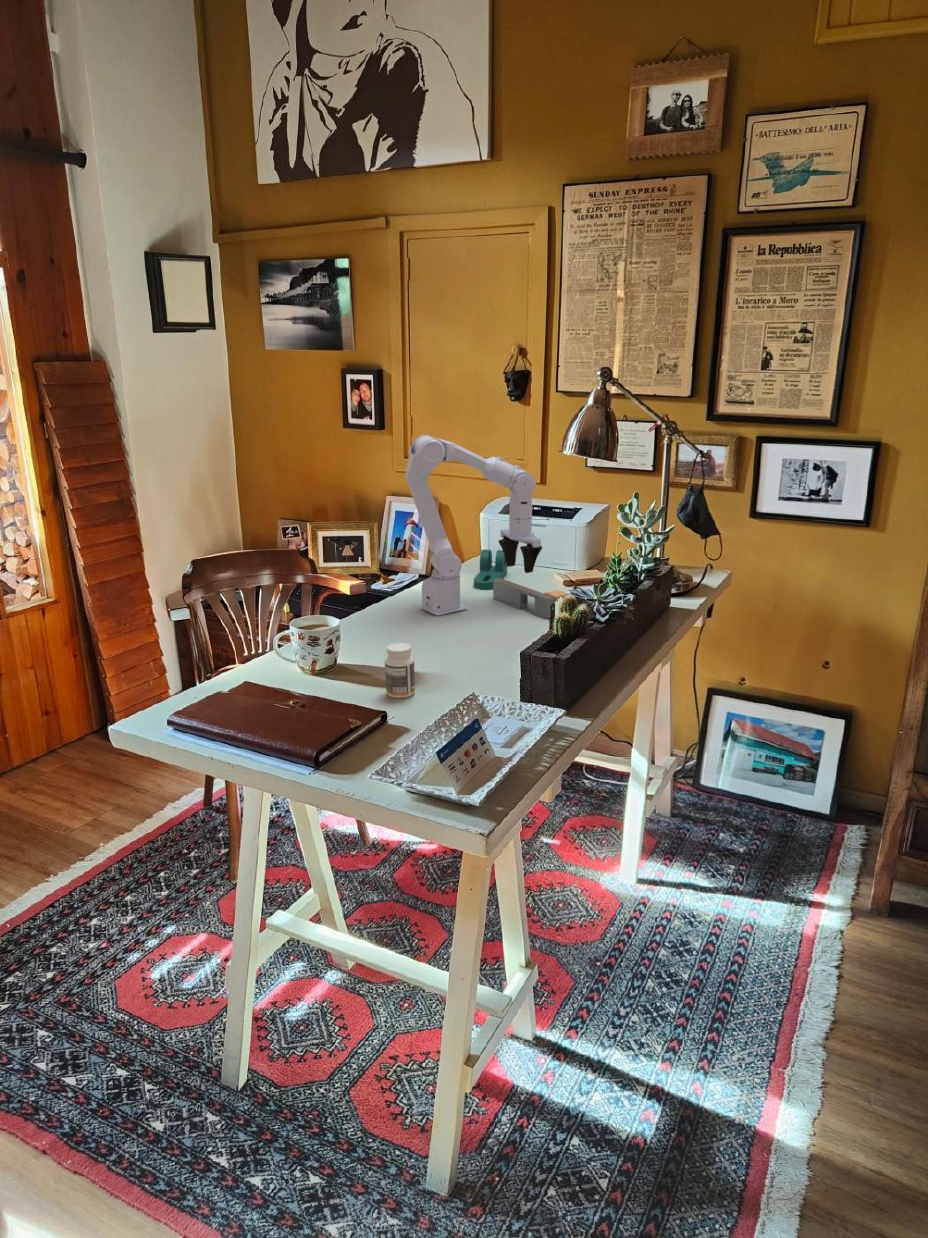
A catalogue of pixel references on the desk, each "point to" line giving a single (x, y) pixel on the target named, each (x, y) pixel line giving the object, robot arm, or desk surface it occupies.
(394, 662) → the pill bottle
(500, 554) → the bracket
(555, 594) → the plug
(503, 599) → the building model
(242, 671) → the desk surface
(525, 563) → the robot arm
